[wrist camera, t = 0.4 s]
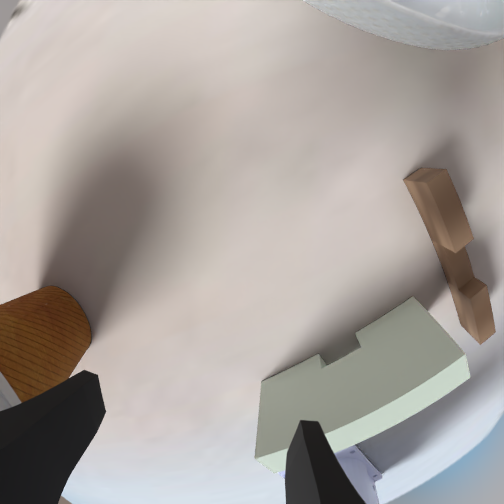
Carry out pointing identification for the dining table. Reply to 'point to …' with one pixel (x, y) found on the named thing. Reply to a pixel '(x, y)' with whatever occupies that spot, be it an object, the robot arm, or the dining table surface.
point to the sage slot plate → (362, 384)
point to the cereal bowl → (423, 20)
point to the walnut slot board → (452, 247)
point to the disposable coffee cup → (39, 343)
